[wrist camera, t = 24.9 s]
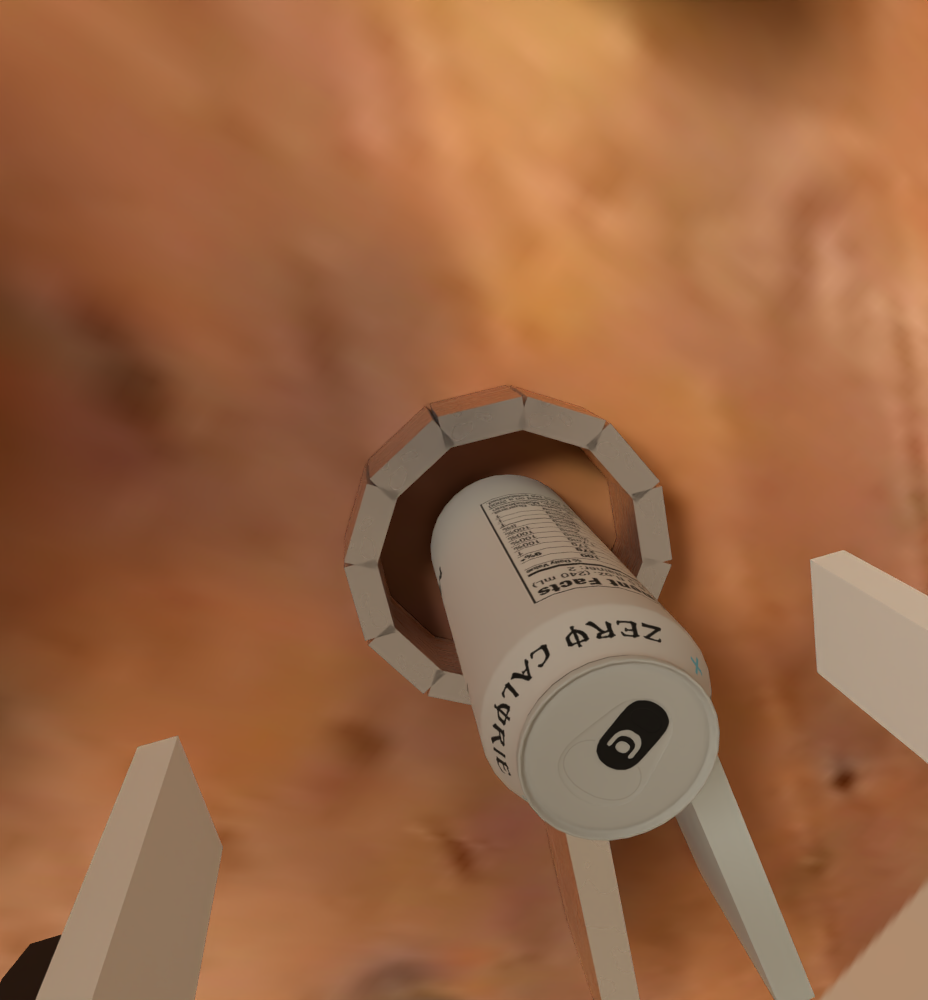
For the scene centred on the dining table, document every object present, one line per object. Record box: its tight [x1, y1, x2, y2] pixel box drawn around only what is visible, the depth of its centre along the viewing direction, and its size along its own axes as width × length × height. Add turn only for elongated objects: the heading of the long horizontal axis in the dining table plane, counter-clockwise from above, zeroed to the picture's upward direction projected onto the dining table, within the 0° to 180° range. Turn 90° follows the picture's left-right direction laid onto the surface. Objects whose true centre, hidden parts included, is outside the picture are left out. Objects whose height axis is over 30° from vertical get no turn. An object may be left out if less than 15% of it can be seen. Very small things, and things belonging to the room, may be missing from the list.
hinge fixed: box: [344, 385, 672, 1000], centre depth 30 cm, size 12×27×8 cm, turn 12°
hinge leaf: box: [675, 755, 815, 1000], centre depth 32 cm, size 2×14×8 cm, turn 24°
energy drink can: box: [431, 474, 720, 841], centre depth 24 cm, size 6×6×15 cm
